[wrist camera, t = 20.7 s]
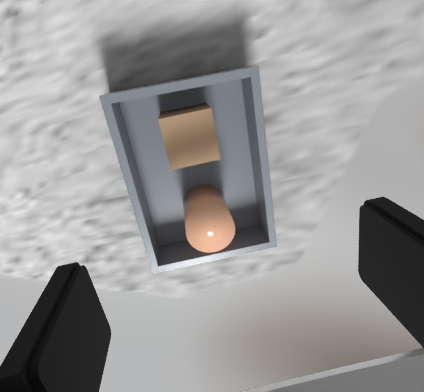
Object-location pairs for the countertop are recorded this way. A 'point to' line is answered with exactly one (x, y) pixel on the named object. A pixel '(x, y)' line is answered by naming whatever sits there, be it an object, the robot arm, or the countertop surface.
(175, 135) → the walnut cube
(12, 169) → the countertop surface
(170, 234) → the tote
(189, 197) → the terracotta cylinder
